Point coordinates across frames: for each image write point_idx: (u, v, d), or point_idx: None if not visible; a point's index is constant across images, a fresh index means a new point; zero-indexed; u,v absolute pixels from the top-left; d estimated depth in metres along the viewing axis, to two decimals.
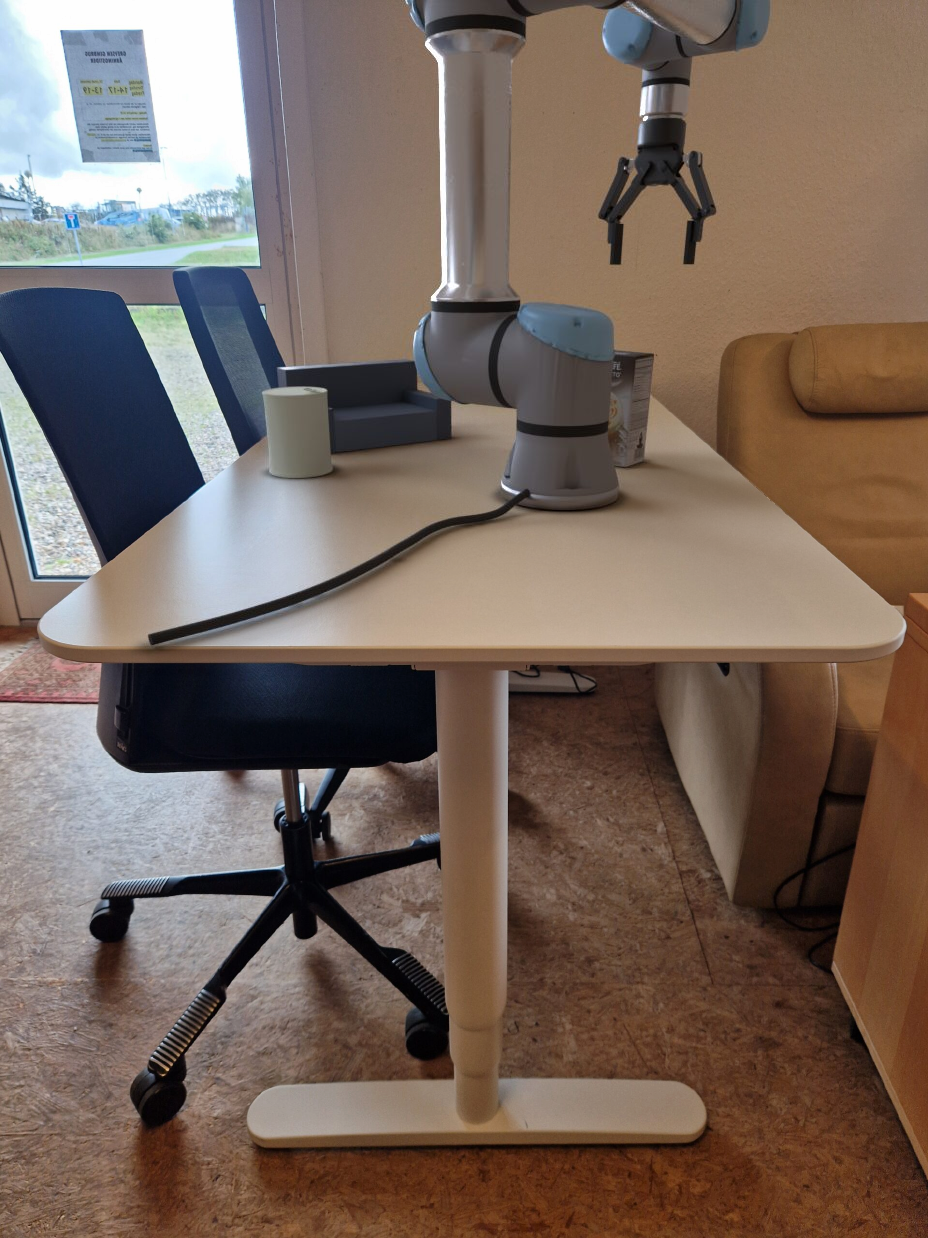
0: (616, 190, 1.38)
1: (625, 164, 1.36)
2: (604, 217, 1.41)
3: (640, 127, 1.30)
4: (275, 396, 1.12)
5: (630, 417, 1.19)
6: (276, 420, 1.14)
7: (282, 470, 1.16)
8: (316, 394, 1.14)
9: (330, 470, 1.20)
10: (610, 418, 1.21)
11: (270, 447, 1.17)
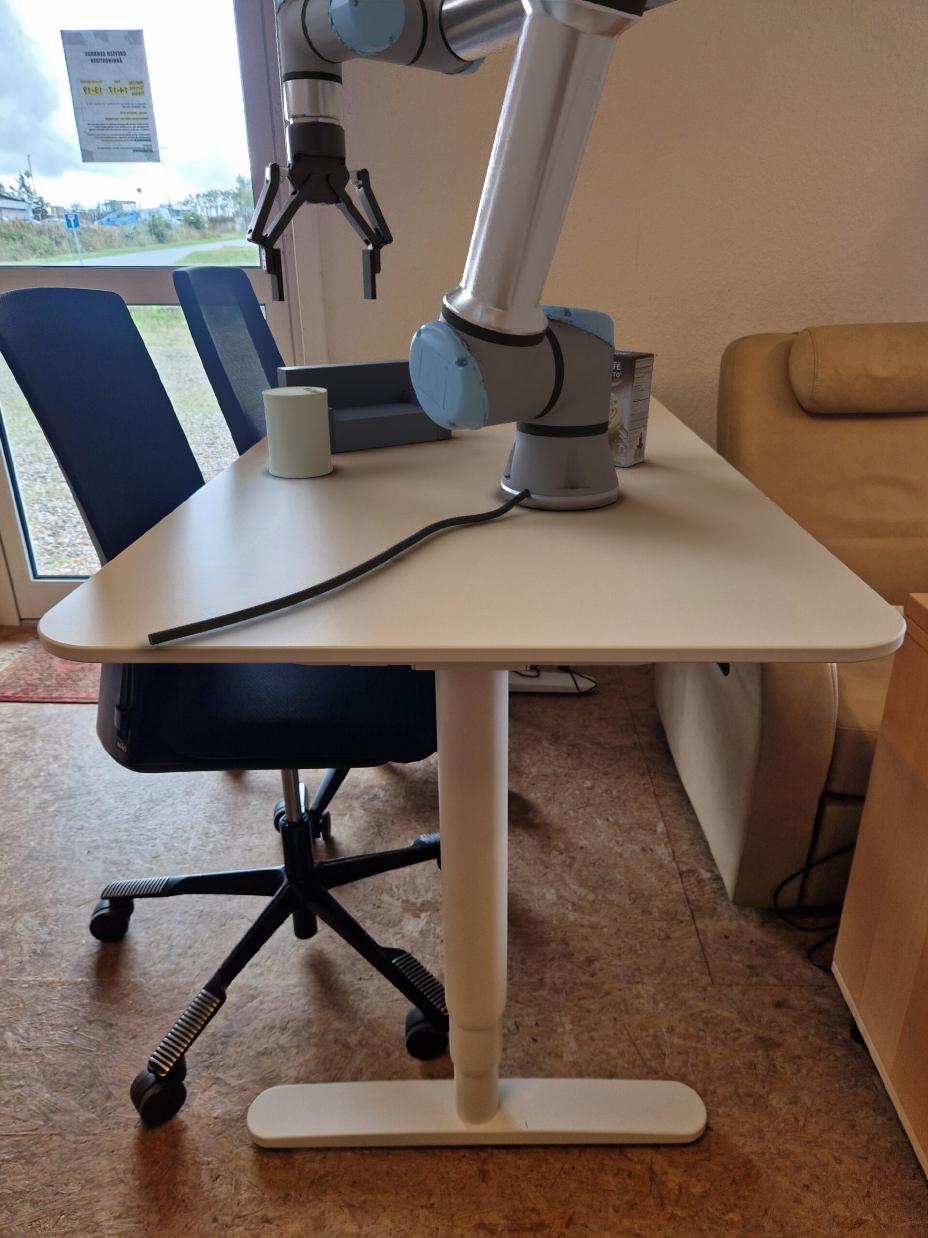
0: (271, 206, 1.06)
1: None
2: None
3: (308, 130, 1.03)
4: (275, 396, 1.12)
5: (630, 417, 1.19)
6: (276, 420, 1.14)
7: (282, 470, 1.16)
8: (316, 394, 1.14)
9: (330, 470, 1.20)
10: (610, 418, 1.21)
11: (270, 447, 1.17)
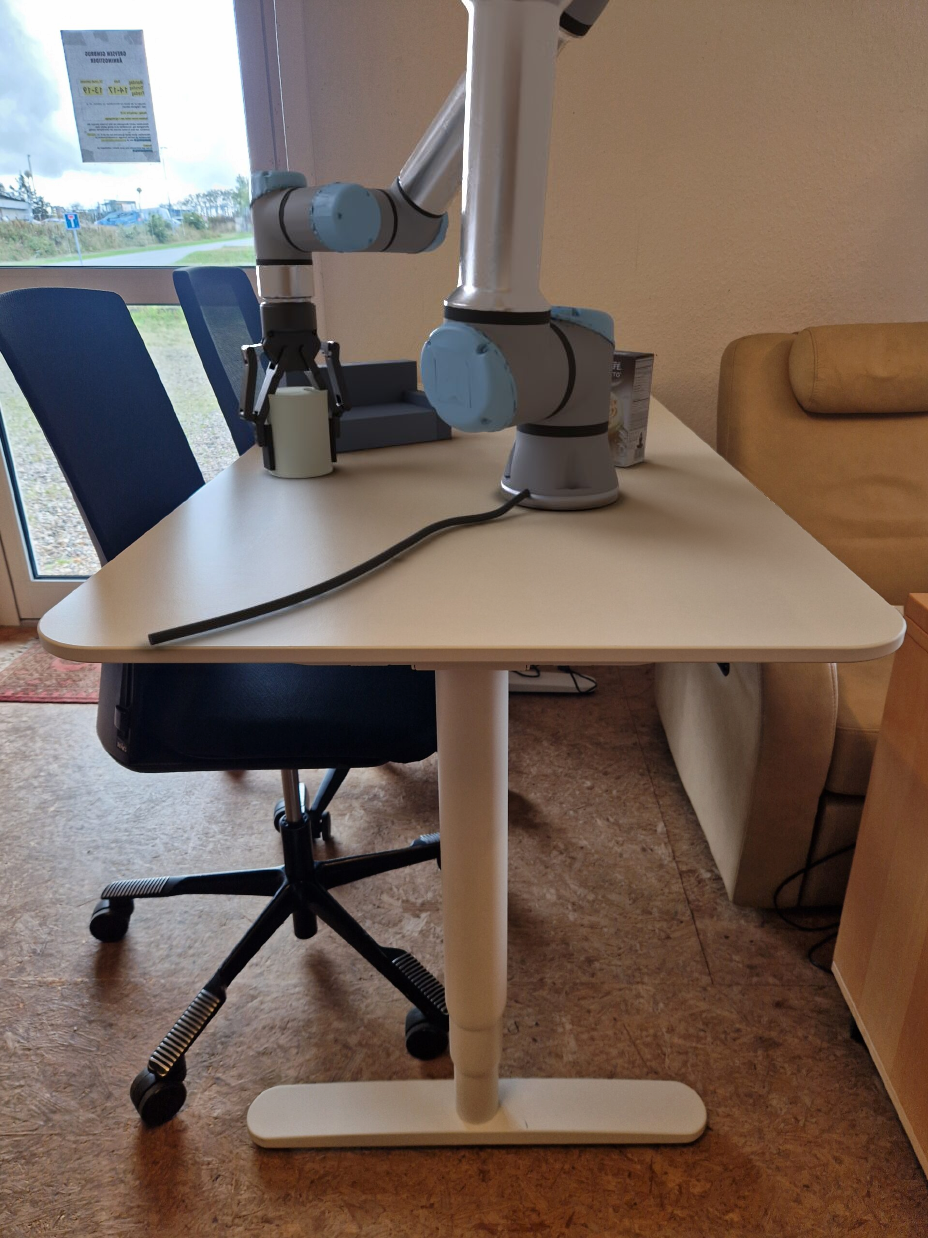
0: (255, 384, 1.12)
1: None
2: (251, 417, 1.13)
3: (281, 311, 1.08)
4: (275, 396, 1.12)
5: (630, 417, 1.19)
6: (276, 420, 1.14)
7: (282, 470, 1.16)
8: (316, 394, 1.14)
9: (330, 470, 1.20)
10: (610, 418, 1.21)
11: None
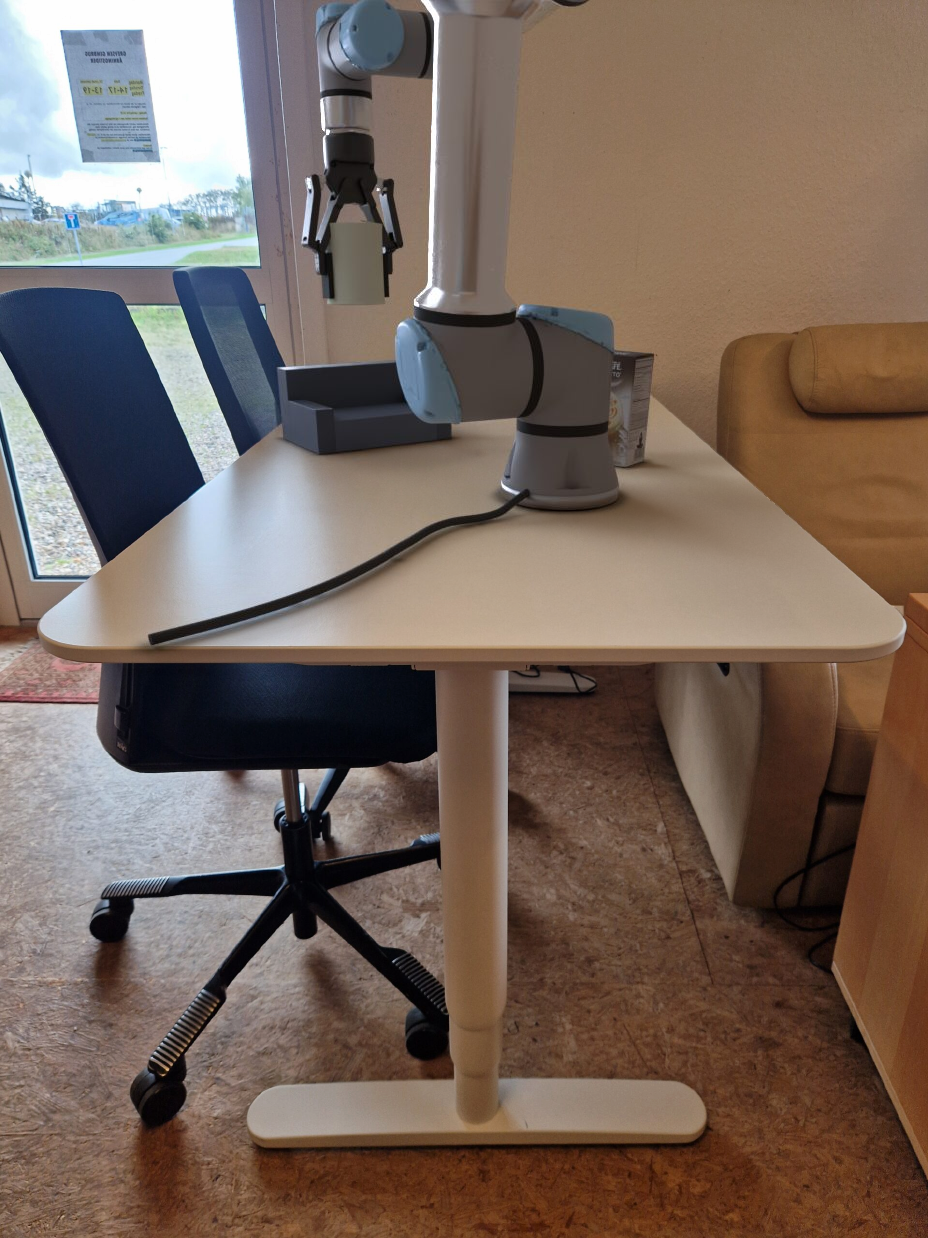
0: (318, 212, 1.22)
1: None
2: (314, 244, 1.23)
3: (343, 140, 1.18)
4: (336, 224, 1.22)
5: (630, 417, 1.19)
6: (336, 248, 1.24)
7: (340, 297, 1.26)
8: (373, 223, 1.23)
9: (383, 302, 1.29)
10: (610, 418, 1.21)
11: None
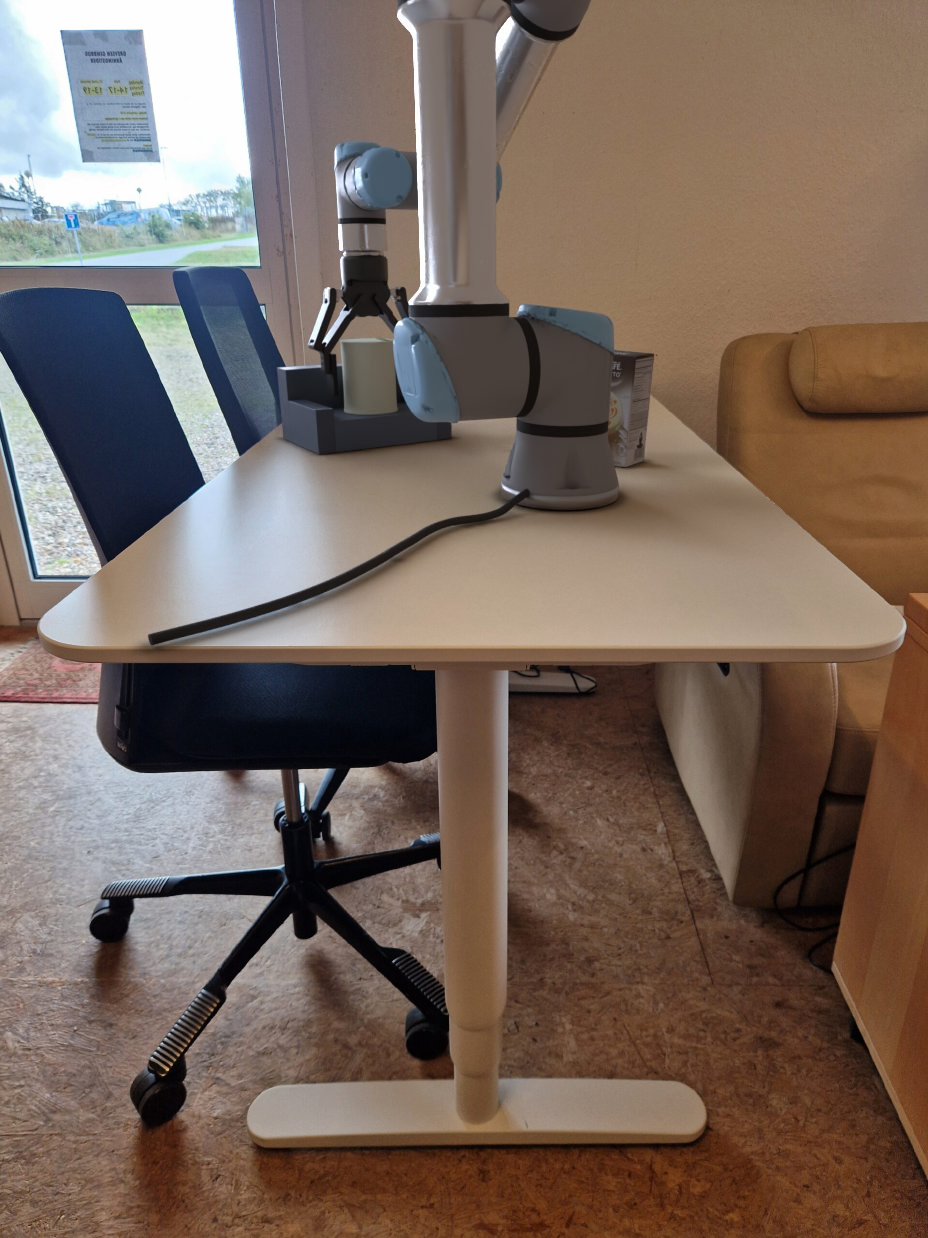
0: (329, 321, 1.30)
1: None
2: (319, 348, 1.31)
3: (360, 262, 1.27)
4: (352, 343, 1.32)
5: (630, 417, 1.19)
6: (353, 364, 1.33)
7: (356, 408, 1.36)
8: (387, 342, 1.33)
9: (396, 409, 1.39)
10: (610, 418, 1.21)
11: (346, 389, 1.36)
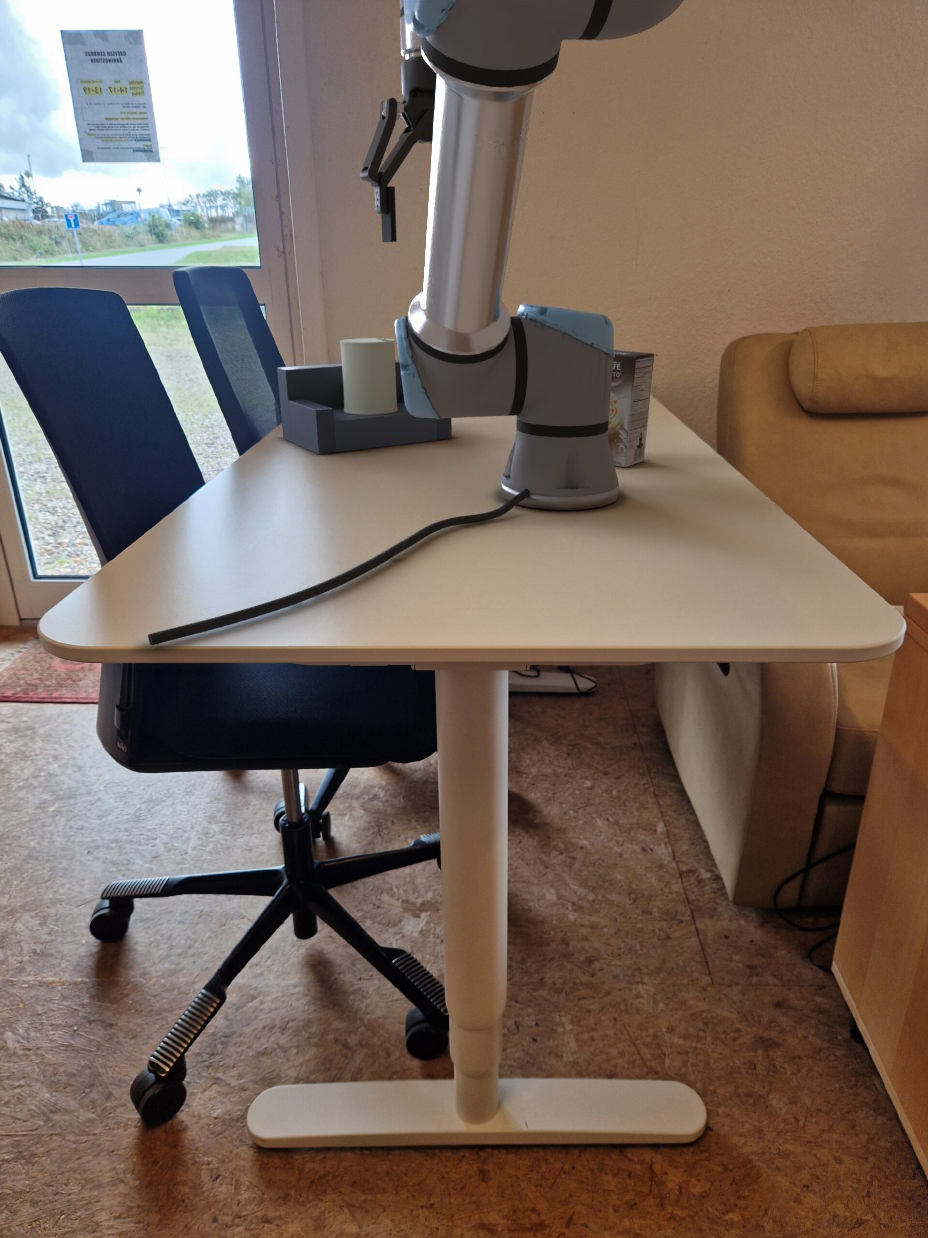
0: (387, 142, 1.04)
1: None
2: None
3: (427, 64, 1.01)
4: (353, 343, 1.32)
5: (630, 417, 1.19)
6: (353, 364, 1.33)
7: (356, 408, 1.36)
8: (387, 342, 1.33)
9: (396, 409, 1.39)
10: (610, 418, 1.21)
11: (346, 389, 1.36)
